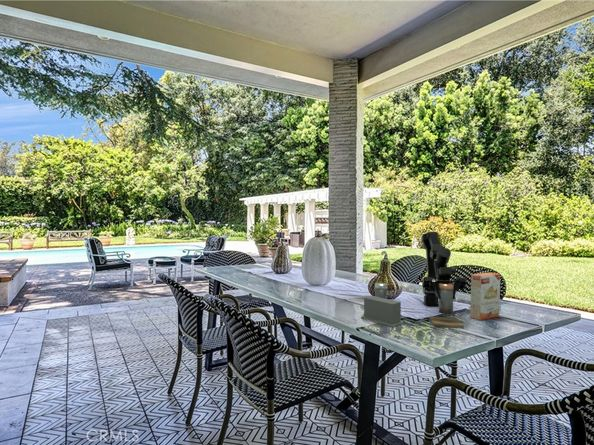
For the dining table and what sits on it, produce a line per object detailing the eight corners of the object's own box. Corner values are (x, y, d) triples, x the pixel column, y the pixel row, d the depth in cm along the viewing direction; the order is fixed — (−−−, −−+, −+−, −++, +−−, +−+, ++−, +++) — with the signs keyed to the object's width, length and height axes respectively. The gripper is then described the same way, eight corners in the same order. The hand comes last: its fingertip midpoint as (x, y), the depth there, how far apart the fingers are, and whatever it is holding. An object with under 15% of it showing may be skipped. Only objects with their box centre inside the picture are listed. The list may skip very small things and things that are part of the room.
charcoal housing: (371, 315, 181) (371, 295, 181) (403, 323, 168) (403, 302, 167) (361, 318, 176) (361, 297, 176) (393, 327, 162) (393, 305, 162)
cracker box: (480, 321, 172) (481, 276, 171) (469, 317, 177) (470, 274, 176) (500, 317, 178) (501, 273, 177) (488, 313, 183) (489, 271, 183)
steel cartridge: (385, 307, 196) (385, 282, 196) (388, 310, 190) (388, 285, 190) (373, 307, 196) (373, 282, 196) (376, 310, 190) (376, 285, 189)
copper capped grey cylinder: (443, 309, 172) (444, 282, 172) (456, 312, 167) (456, 284, 167) (435, 312, 169) (436, 283, 168) (448, 315, 164) (448, 285, 163)
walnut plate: (429, 318, 175) (429, 316, 175) (456, 320, 173) (456, 317, 173) (434, 326, 163) (434, 324, 163) (463, 328, 161) (463, 325, 161)
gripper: (423, 259, 172) (427, 288, 162) (466, 260, 169) (473, 289, 159) (420, 273, 181) (424, 301, 170) (461, 274, 178) (467, 303, 167)
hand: (446, 298), depth 166 cm, fingers closed on copper capped grey cylinder, 6 cm apart
